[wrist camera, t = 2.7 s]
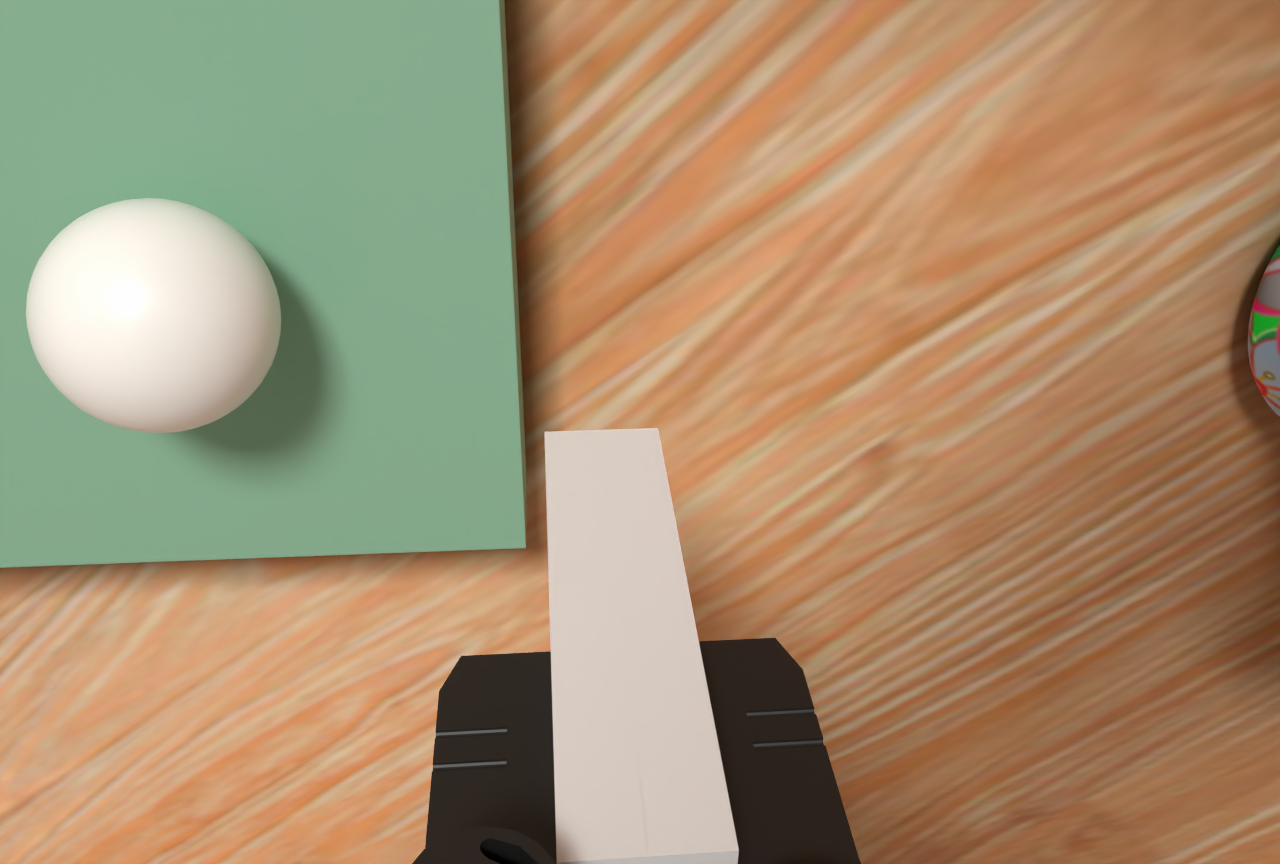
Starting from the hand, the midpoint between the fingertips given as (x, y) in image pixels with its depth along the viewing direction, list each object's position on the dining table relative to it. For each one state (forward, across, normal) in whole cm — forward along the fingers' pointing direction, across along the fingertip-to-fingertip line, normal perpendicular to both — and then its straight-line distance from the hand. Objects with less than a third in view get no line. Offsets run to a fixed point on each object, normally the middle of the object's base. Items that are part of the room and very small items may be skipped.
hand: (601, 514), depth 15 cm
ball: (+6, -7, 0) cm, 9 cm away
